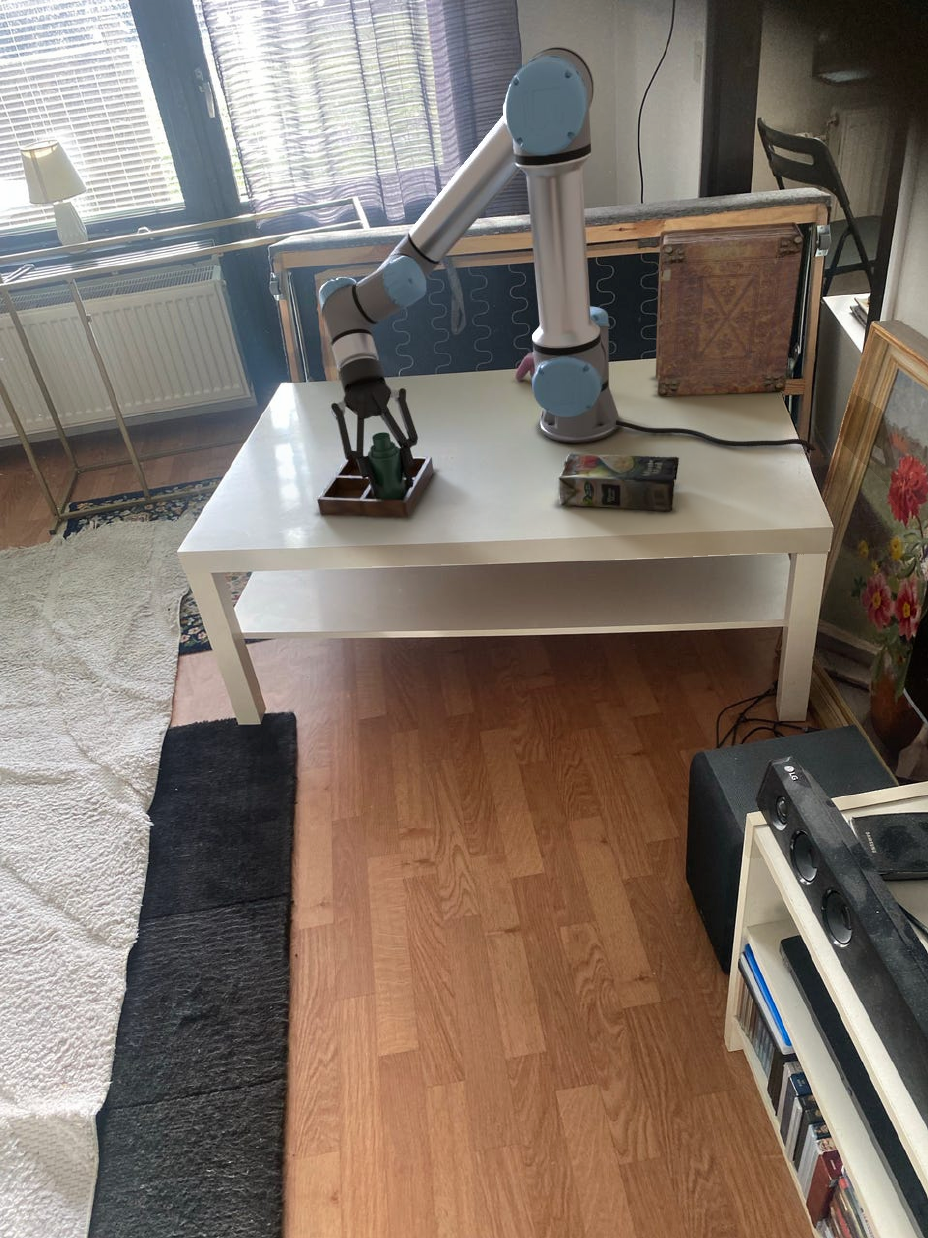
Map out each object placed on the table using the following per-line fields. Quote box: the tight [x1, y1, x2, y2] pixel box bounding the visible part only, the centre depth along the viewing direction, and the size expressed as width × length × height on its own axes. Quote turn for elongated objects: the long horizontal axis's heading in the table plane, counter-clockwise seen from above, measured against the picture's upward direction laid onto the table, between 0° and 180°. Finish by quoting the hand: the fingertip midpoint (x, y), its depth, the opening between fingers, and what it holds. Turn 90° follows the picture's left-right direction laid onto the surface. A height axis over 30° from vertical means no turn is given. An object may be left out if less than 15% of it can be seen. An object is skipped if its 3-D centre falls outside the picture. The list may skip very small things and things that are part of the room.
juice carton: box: [557, 453, 680, 512], centre depth 155 cm, size 20×10×6 cm, turn 74°
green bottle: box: [367, 431, 407, 500], centre depth 158 cm, size 6×6×12 cm
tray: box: [316, 454, 434, 519], centre depth 165 cm, size 17×17×3 cm
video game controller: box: [515, 351, 535, 381], centre depth 197 cm, size 10×5×7 cm, turn 47°
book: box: [655, 221, 805, 397], centre depth 179 cm, size 25×9×30 cm, turn 81°
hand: (393, 489), depth 156 cm, fingers closed on green bottle, 6 cm apart
